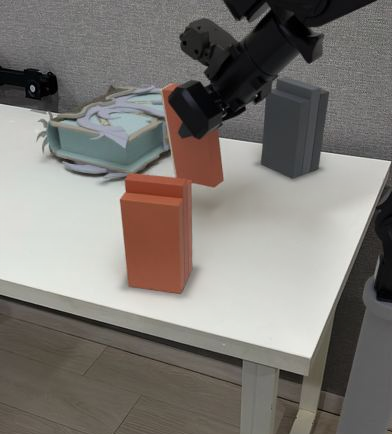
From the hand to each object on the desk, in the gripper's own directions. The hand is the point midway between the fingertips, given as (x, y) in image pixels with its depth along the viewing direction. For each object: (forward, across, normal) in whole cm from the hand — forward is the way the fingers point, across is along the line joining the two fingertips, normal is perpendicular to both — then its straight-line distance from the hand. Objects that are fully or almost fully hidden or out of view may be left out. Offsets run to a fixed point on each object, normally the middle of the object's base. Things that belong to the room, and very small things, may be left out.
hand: (186, 132), depth 79 cm
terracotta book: (+4, -1, +6) cm, 7 cm away
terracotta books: (+4, +17, +13) cm, 22 cm away
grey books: (+4, -24, +13) cm, 28 cm away
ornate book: (+26, -16, -8) cm, 31 cm away
